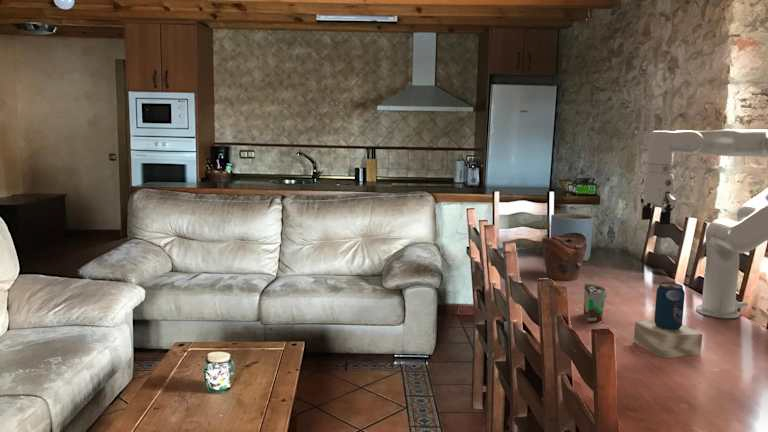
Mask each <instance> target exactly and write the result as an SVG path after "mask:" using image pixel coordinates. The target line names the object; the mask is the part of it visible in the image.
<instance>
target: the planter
mask: <svg viewBox="0 0 768 432" xmlns="http://www.w3.org/2000/svg"><path fill="white" fill-rule="evenodd" d="M594 218H595V217H594V216H592V215H587V214H581V213H580V214H578V213H553V214H551V216H550V238H552V237H555V236H559V235H563V234H567V233H580V234H582V235H584V236H585V237H586V239H587V250H586V252H585V255H584V259H583V262H584V261H586V262H589V259H590V257H591V249H592V240H593V230H594Z"/></svg>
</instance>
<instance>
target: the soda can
mask: <svg viewBox="0 0 768 432" xmlns="http://www.w3.org/2000/svg"><path fill="white" fill-rule="evenodd" d="M685 294H686V293H685V290H684V286H683V285H682V284H680V283H676V282H675V283H674V282H667V281H665V282H661V283H659V285H658V287H657V289H656V296H655V308H654V320H653V321H654V322H655V324H656V326H657V327H658V328H660V329H663V330H669V331H676V330H679V328H680V327H681V326H682V324H683V318H684V308H685V307H684V306H685V298H686V297H685Z"/></svg>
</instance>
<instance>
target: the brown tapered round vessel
mask: <svg viewBox="0 0 768 432" xmlns="http://www.w3.org/2000/svg"><path fill="white" fill-rule="evenodd" d="M540 247H541V248H542V252H543V254H542V255H543V260H544V267H545V275H546V277H547V278H549V279H552V280H558V281H559V280H560V281H574V280H578V278H579V277H580V274H581V270H582V267H583V262H584V260H583V259H584V255H585V252H586V250H587V239H586V237H585V236H584V235H582V234H580V233H567V234H563V235H559V236H555V237H552V238H551V237H543V238H542V239H541V244H540Z"/></svg>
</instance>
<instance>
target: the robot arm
mask: <svg viewBox="0 0 768 432" xmlns="http://www.w3.org/2000/svg"><path fill="white" fill-rule="evenodd" d="M647 149H648V150H647V161H646V162H647V163H646V175H645V179H644V186H643V191H642V192H640V193H639V198H640V203H641V206H640V207H641V209H642V210H641V211H642V212H641V220H642V221H643V220H644V221H646V220H647V221H648V220H651V219H652V213H653V207H652V206H653V205H655V206H660V209H661V211H660V218H659V224H660V225H670V224H671V218H672V217H671V215H672V212H673V209H674V208H675V205H676V203H677V198H675V179H674V178H675V177H674V174H673V168H674V167H673V165H674V155H675V154H679V155H680V154H681V155H693V154H694V155H695V154H700V155H701V154H703V155H704V154H705V155H713V156H714V155H715V156H722V157H724V156H725V157H763V158H767V157H768V129H738V128H737V129H735V128H734V129H733V128H732V129H719V130H686V129H683V130H680V129H679V130H675V131H674V130H673V131H671V130H653V131H651V132H650V133H649V137H648V148H647ZM736 217H737V220H738V221H737V220H733V219H730V218H722V217H721V218H717V219H714V220H712V221H711V222H710V223H709V224H708V225H707V228H706V230H705V246H706V257H705V268H704V277H703V278H704V279H703V287H702V288H703V289H702V301H701V304H698V305H697V306H696V308H695V309H696V311H697V313H699V314H701V315H704V316H708V317H713V318H718V319H737V318H739V317H740V314H741V313H740V311H739V310H738V309H740V308H741V309H744V308H745V309H747V308H748V306H749V303H748V302H747V301H740V302H739V300H737V299H736V298H737V287H738V278H739V268H740V254H747V253H748V252H750V251H753V250H754V249H756V248H758V247H759V246H760V245H762V244H763V243H765V242H766V241H768V187H767V188H766V189H764V190H763V191H762V192H760V193H759V194H757V195H756V196H754V197H753V198H751V199H750V200H748V201H747V202H745V203H743V204H742V205H741V206H740V207H739V208H738V210H737V212H736Z"/></svg>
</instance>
